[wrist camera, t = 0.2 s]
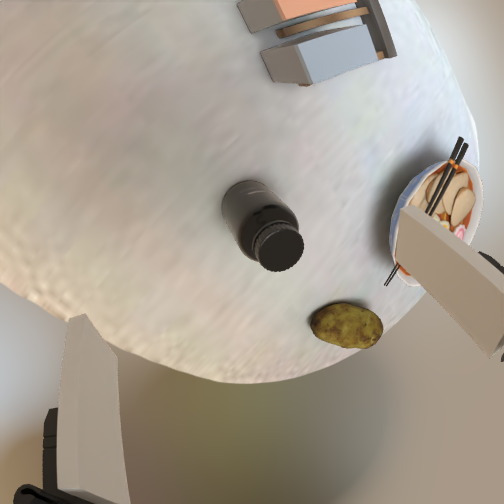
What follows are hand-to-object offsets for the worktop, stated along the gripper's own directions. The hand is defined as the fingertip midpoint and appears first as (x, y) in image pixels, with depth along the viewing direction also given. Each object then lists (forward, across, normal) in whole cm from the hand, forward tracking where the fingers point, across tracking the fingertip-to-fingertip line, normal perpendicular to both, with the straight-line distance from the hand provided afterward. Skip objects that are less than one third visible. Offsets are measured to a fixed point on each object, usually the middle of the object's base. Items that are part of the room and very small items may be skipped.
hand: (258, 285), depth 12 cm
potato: (+26, +18, -37) cm, 48 cm away
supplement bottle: (+27, +5, -11) cm, 29 cm away
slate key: (+28, +15, +6) cm, 32 cm away
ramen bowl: (+27, +34, -20) cm, 48 cm away
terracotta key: (+28, +14, +13) cm, 34 cm away
